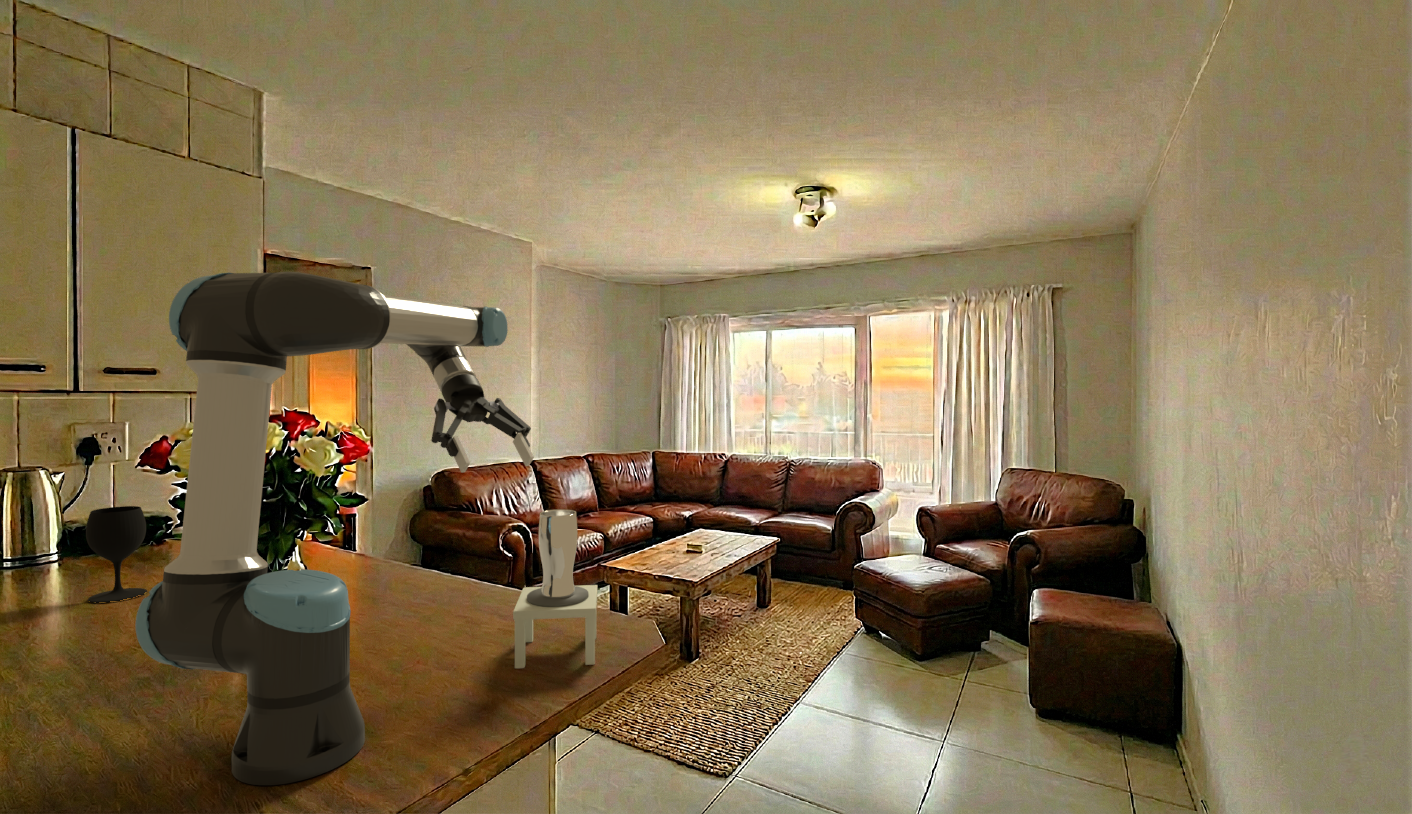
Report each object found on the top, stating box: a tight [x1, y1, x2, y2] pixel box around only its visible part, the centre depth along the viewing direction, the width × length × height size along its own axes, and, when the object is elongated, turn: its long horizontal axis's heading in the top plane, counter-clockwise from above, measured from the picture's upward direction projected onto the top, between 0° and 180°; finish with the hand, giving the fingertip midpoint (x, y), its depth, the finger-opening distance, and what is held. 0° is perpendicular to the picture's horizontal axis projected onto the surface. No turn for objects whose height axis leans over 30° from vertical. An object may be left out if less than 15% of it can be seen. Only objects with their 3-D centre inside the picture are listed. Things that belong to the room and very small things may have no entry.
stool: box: [512, 584, 598, 669], centre depth 125 cm, size 14×14×11 cm
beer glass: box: [538, 508, 578, 599], centre depth 125 cm, size 7×7×15 cm
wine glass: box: [85, 505, 148, 604], centre depth 155 cm, size 10×10×20 cm
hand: (499, 464), depth 130 cm, fingers open, 13 cm apart
